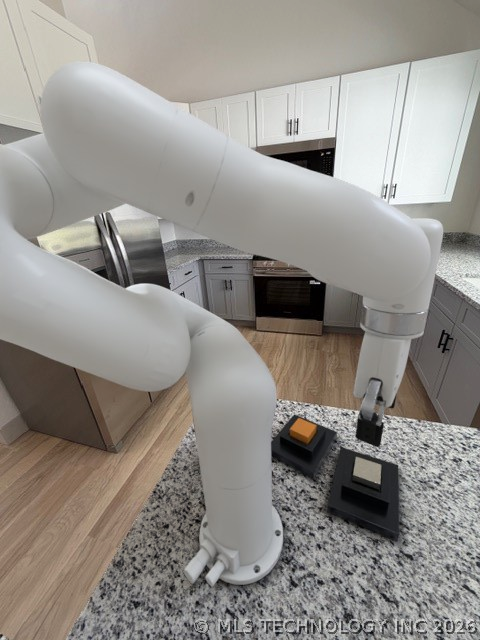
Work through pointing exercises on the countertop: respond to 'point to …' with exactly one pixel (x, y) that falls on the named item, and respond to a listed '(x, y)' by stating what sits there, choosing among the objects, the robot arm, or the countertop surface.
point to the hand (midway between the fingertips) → (376, 421)
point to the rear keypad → (303, 448)
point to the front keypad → (366, 496)
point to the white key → (367, 474)
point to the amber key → (303, 430)
